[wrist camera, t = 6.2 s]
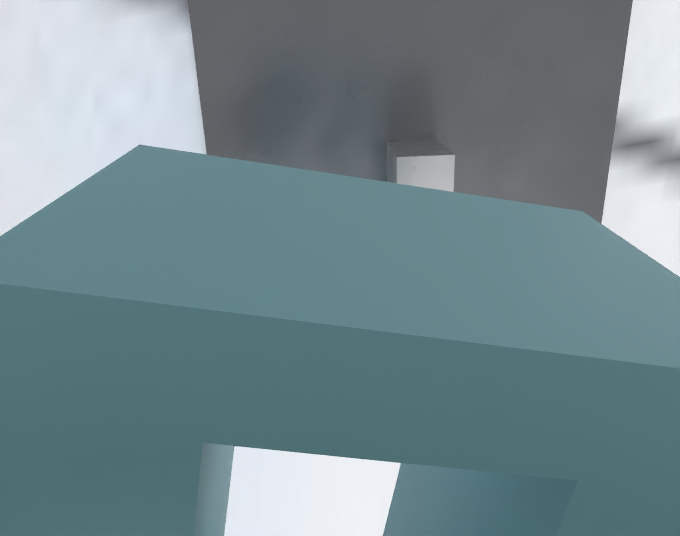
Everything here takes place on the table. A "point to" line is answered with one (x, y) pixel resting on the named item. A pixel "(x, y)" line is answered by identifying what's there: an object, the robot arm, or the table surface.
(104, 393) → the block with rectangular hole
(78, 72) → the table surface
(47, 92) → the table surface
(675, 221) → the table surface
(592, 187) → the key base
